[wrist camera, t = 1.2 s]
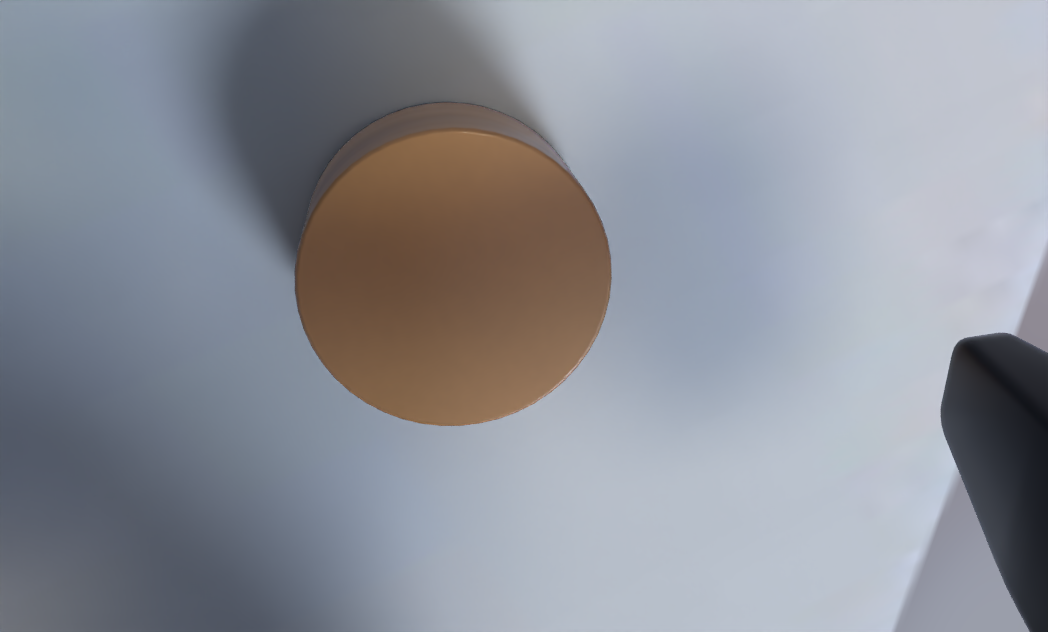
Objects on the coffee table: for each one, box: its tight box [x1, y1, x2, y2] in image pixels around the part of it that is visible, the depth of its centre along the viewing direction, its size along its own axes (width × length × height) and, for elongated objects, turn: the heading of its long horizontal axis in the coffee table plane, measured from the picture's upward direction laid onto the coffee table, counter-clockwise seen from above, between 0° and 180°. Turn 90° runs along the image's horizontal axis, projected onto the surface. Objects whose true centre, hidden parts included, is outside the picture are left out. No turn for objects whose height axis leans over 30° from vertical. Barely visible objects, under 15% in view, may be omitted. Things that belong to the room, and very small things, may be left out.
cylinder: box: [295, 102, 612, 426], centre depth 18 cm, size 6×6×2 cm
